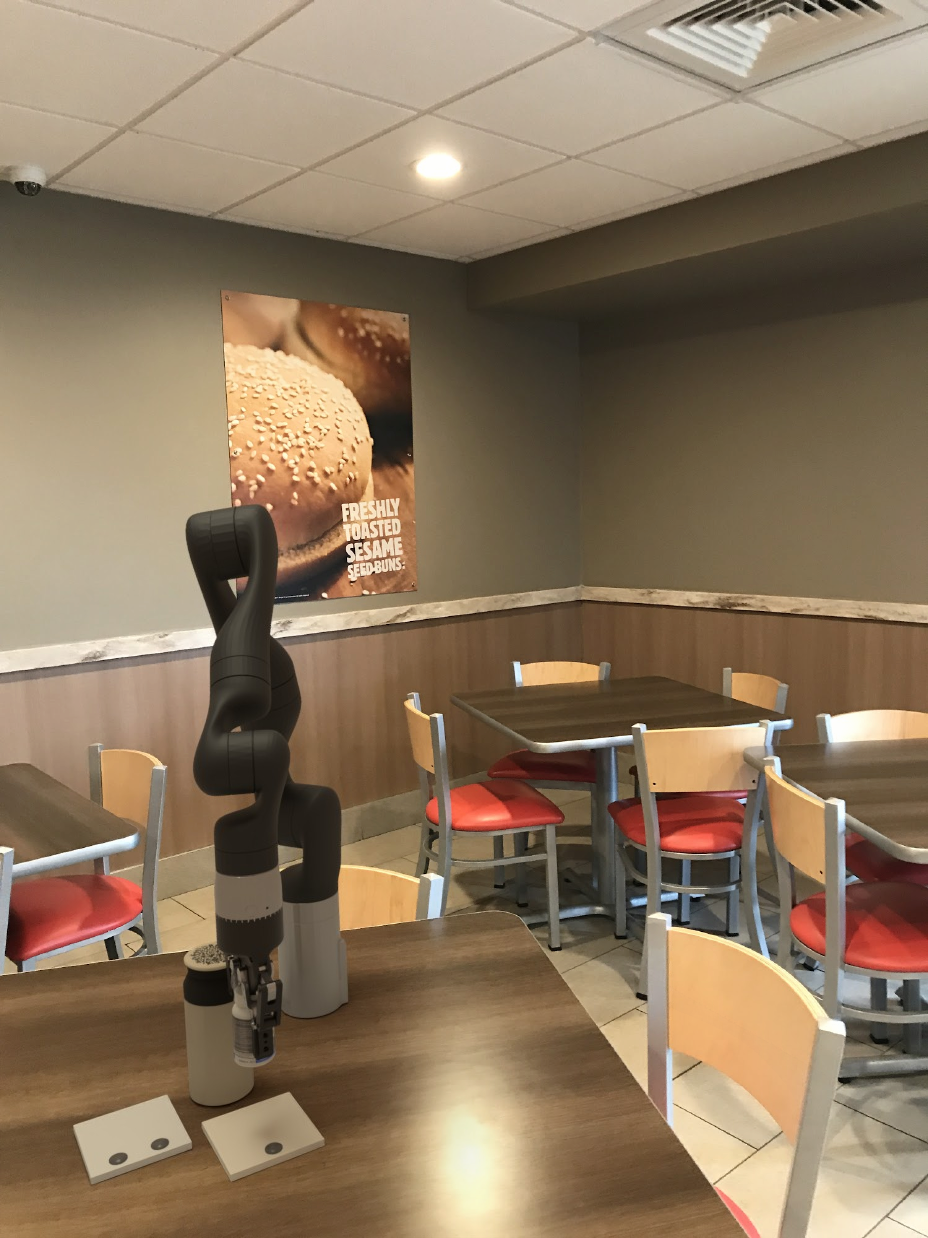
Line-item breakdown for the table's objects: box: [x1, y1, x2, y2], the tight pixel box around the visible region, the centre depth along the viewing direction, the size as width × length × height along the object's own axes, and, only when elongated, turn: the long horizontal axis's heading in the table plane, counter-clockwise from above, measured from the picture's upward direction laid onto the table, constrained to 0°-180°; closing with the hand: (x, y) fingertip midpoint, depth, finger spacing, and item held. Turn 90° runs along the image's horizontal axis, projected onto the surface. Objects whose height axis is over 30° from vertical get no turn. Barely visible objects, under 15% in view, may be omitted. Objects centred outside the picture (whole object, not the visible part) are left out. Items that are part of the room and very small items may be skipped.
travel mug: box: [182, 941, 255, 1107], centre depth 121 cm, size 8×8×18 cm
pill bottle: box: [232, 985, 276, 1068], centre depth 111 cm, size 5×5×8 cm
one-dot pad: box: [201, 1091, 325, 1183], centre depth 112 cm, size 11×11×1 cm
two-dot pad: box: [72, 1094, 193, 1186], centre depth 112 cm, size 11×11×1 cm
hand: (255, 1045), depth 111 cm, fingers closed on pill bottle, 4 cm apart
